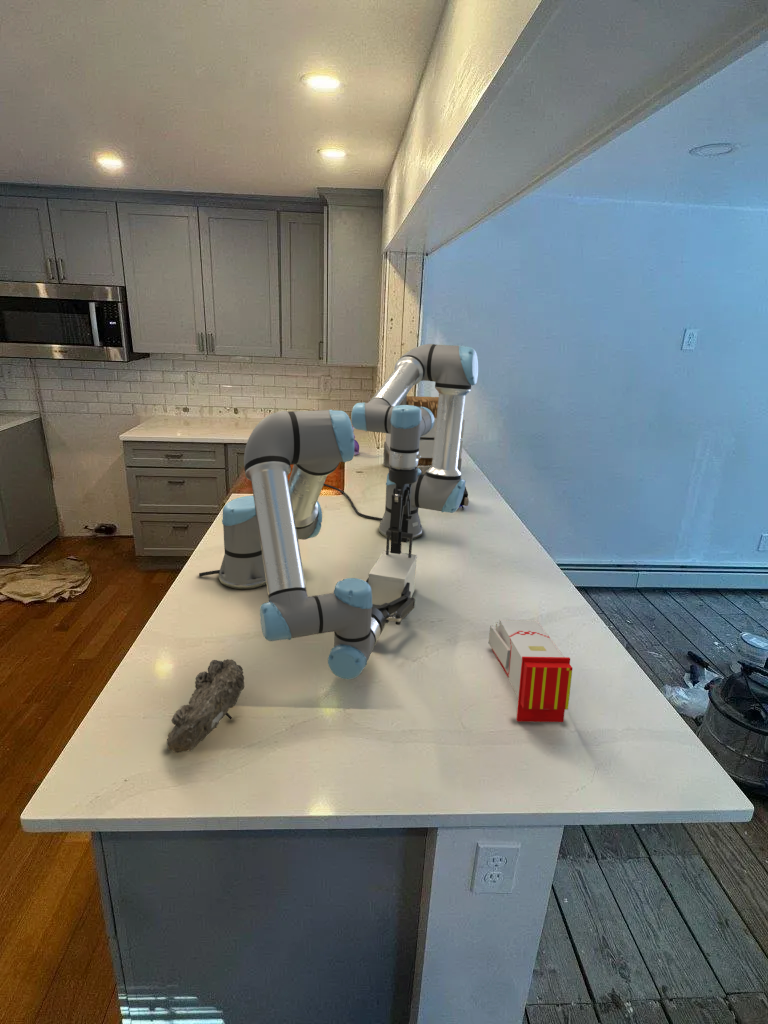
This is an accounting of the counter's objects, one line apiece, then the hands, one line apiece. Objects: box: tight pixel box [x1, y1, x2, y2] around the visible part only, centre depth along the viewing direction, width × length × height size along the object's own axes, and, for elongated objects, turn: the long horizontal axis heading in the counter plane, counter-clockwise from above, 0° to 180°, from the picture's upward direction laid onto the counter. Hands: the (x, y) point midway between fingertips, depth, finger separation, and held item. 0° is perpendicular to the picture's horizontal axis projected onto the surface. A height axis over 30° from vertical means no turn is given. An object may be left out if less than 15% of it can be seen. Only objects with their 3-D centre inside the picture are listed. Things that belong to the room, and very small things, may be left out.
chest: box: [368, 560, 417, 615], centre depth 153 cm, size 15×10×10 cm, turn 166°
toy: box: [488, 619, 573, 723], centre depth 122 cm, size 12×13×30 cm
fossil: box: [166, 658, 245, 754], centre depth 106 cm, size 22×10×15 cm
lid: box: [368, 530, 418, 583], centre depth 150 cm, size 16×10×8 cm, turn 166°
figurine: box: [352, 425, 360, 456], centre depth 302 cm, size 9×10×15 cm
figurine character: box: [459, 486, 470, 511], centre depth 230 cm, size 7×8×15 cm
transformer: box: [383, 394, 465, 472], centre depth 268 cm, size 34×33×41 cm
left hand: (388, 584), depth 147 cm, fingers closed on chest, 9 cm apart
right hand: (398, 547), depth 155 cm, fingers open, 8 cm apart
